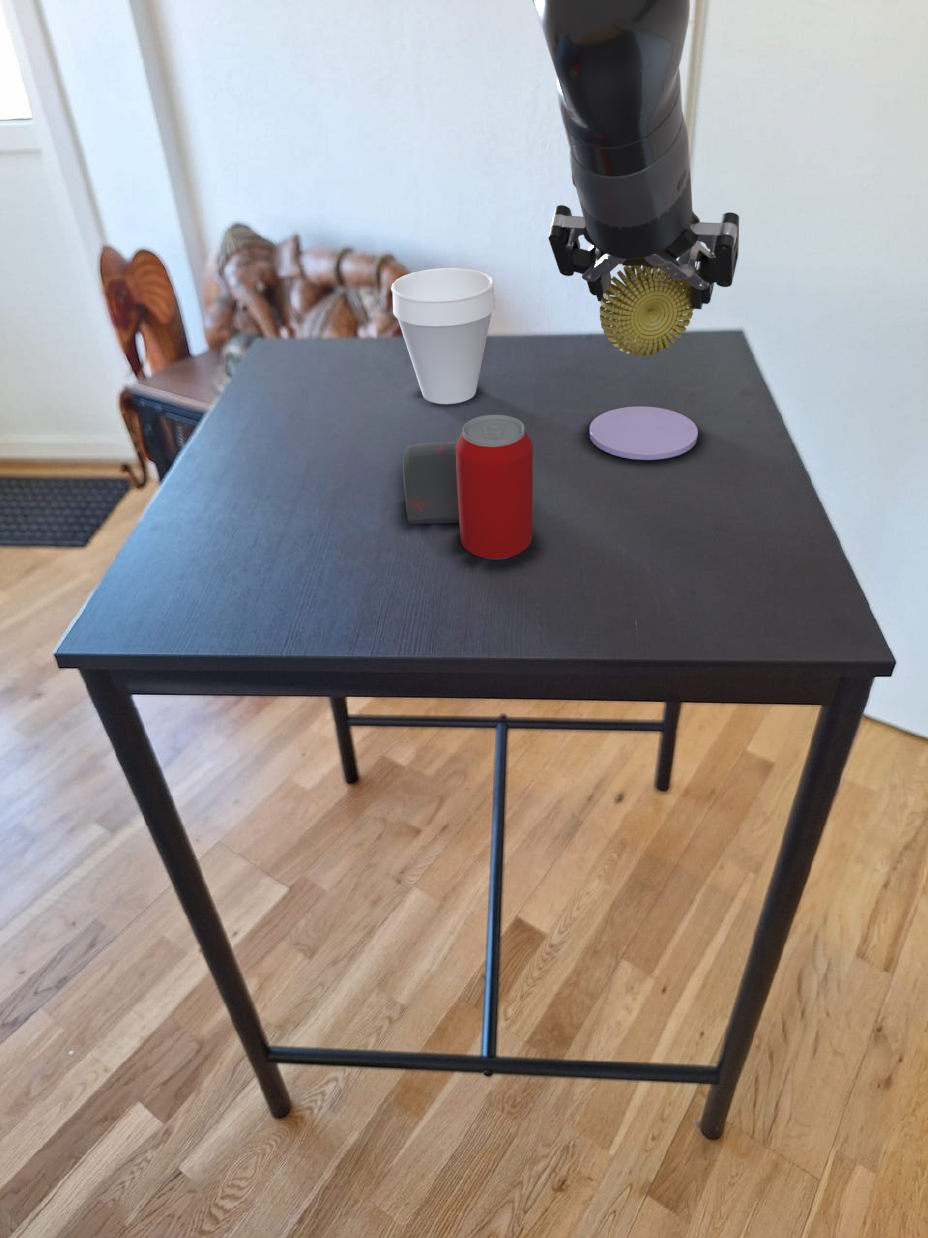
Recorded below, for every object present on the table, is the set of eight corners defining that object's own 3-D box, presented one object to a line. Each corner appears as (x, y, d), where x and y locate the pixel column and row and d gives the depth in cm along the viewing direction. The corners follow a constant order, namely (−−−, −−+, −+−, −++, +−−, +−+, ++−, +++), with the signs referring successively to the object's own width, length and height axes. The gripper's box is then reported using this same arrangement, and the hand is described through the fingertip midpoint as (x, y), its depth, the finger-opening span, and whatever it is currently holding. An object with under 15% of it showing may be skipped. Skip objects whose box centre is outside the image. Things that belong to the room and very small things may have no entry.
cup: (493, 413, 102) (490, 299, 93) (393, 413, 103) (381, 300, 95) (501, 373, 111) (499, 266, 103) (409, 373, 113) (400, 267, 104)
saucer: (705, 421, 98) (706, 413, 97) (685, 469, 89) (687, 460, 88) (604, 408, 102) (604, 400, 101) (576, 453, 93) (576, 445, 92)
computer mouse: (482, 458, 93) (480, 424, 91) (481, 523, 82) (480, 488, 80) (409, 460, 93) (406, 427, 91) (399, 526, 83) (396, 490, 80)
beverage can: (533, 526, 82) (534, 411, 74) (530, 566, 76) (531, 446, 69) (464, 525, 82) (458, 410, 75) (457, 565, 77) (450, 445, 70)
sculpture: (679, 342, 75) (690, 247, 70) (694, 358, 72) (707, 261, 67) (592, 350, 75) (597, 255, 70) (603, 367, 71) (609, 269, 67)
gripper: (754, 120, 54) (747, 259, 70) (541, 118, 59) (579, 248, 74) (730, 229, 53) (728, 344, 69) (517, 218, 58) (560, 329, 73)
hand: (651, 295), depth 71 cm, fingers closed on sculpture, 7 cm apart
